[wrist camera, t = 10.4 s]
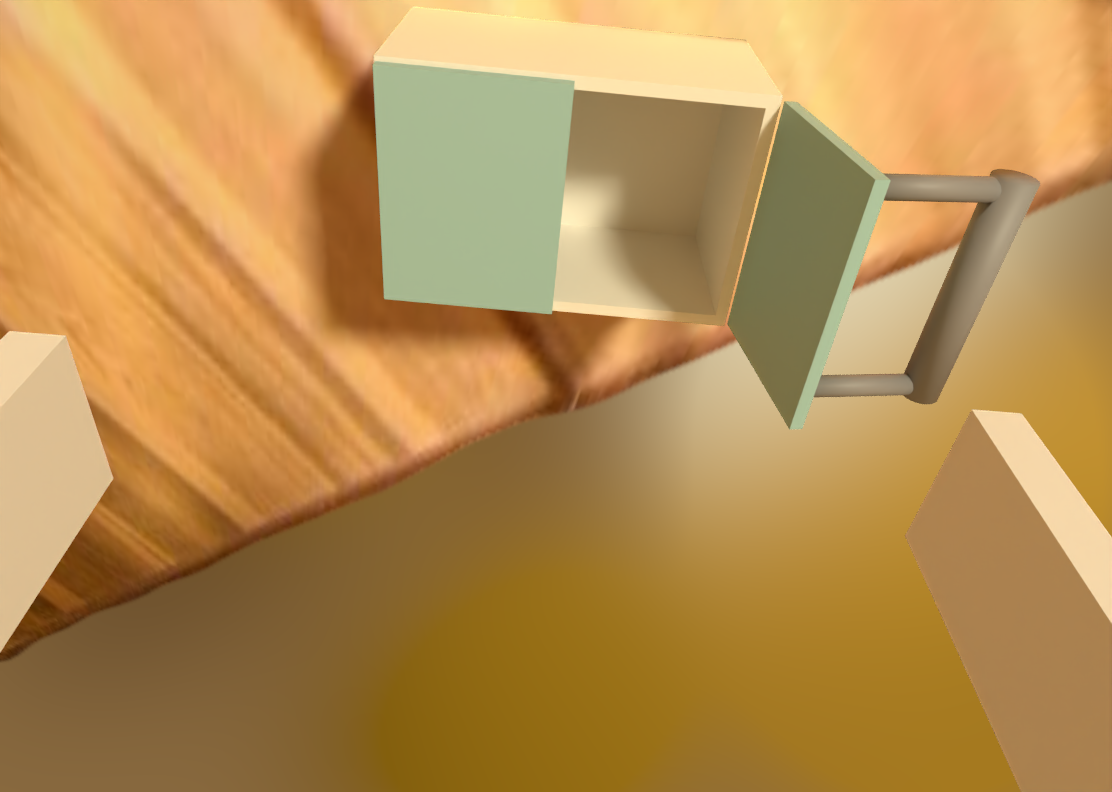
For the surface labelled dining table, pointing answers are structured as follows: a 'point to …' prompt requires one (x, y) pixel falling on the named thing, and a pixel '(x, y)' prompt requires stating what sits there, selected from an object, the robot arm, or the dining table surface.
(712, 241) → the carton
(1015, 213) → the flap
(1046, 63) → the dining table surface
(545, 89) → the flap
